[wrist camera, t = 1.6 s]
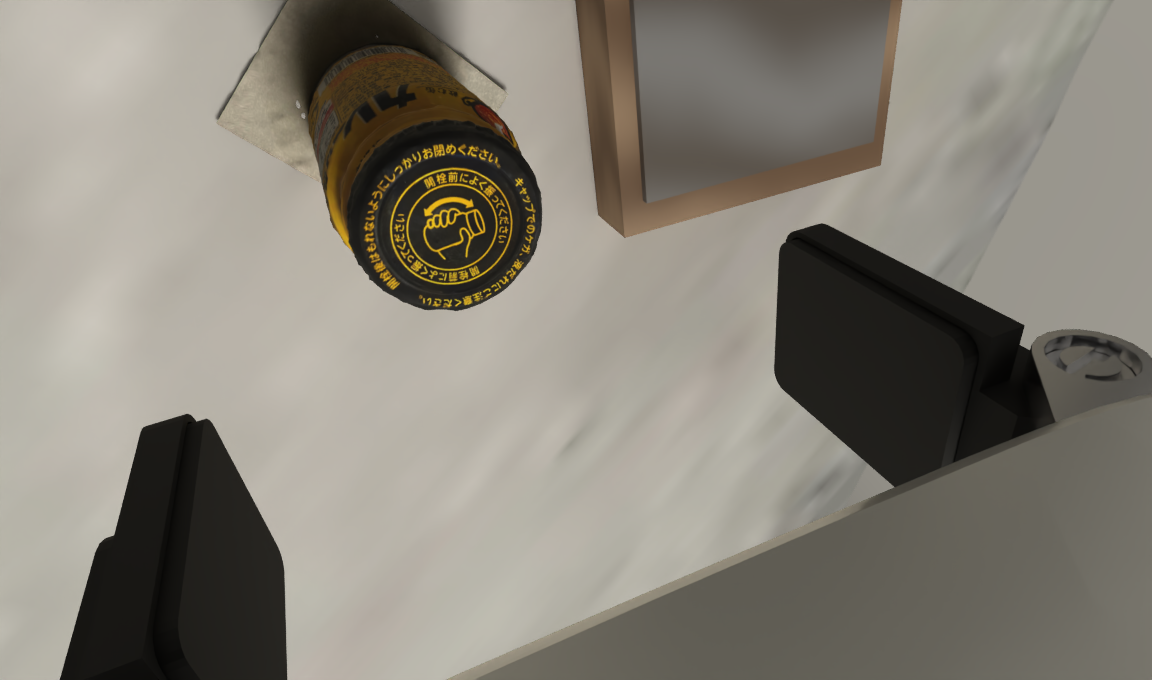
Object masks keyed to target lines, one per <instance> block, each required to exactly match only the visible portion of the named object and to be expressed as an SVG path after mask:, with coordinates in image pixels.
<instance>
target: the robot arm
mask: <svg viewBox="0 0 1152 680" xmlns="http://www.w3.org/2000/svg"><path fill="white" fill-rule="evenodd" d="M1023 329H1024V325H1023V324H1021V323H1019V322H1017V321H1015V320H1013V319H1011V318H1009V317H1007V316H1005V315H1003V314H1001V313H999V312H997V311H995V310H993V309H991V308H989V307H987V306H985V305H983V304H982V303H979V302H977V301H976V300H974V299H972V298H970V297H968V296H966V295H964V294H962V293H960V292H958V291H956V290H954V289H952V288H950V287H948V286H946V285H944V284H942V283H940V282H938V281H936V280H934V279H932V278H931V277H929V276H927V275H925V274H923V273H921V272H919V271H917V270H915V269H913V268H911V267H909V266H907V265H905V264H903V263H901V262H899V261H897V260H895V259H893V258H891V257H889V256H887V255H885V254H883V253H881V252H879V251H878V250H876V249H874V248H872V247H870V246H868V245H866V244H864V243H862V242H860V241H858V240H856V239H854V238H852V237H850V236H848V235H846V234H844V233H842V232H840V231H838V230H836V229H834V228H832V227H830V226H828V225H826V224H817V225H814V226H810V227H807V228H804V229H800V230H797V231H794V232H791V233H790V234H789V235H788V237H787V239H786V243H784V244H782V246H781V248H780V251H779V269H778V293H777V317H776V340H775V364H774V371H775V376H776V379H777V382H778V384H779V385H780V387H781V388H782V389H783V390H784V391H785V392H786V393H787V394H789V395H790V396H791V397H792V398H793V399H794V400H795V401H797V402H798V403H799V404H800V405H801V406H802V407H804V408H805V409H806V410H807V411H808V412H809V413H810V414H812V415H813V416H814V417H815V418H816V419H817V420H818V421H820V422H821V423H822V424H823V425H824V426H825V427H826V428H828V429H829V430H830V431H831V432H832V433H833V434H834V435H836V436H837V437H838V438H839V439H840V440H841V441H842V442H844V443H845V444H846V445H847V446H848V447H849V448H851V449H852V450H853V451H854V452H855V453H856V454H857V455H859V456H860V457H861V458H862V459H863V460H864V461H865V462H867V463H868V464H869V465H870V466H871V467H872V468H873V469H875V470H876V471H877V472H878V473H879V474H880V475H881V476H883V477H884V478H885V479H886V480H887V481H888V482H889V483H891V484H892V485H893V486H894V487H895V488H892V489H890V490H887V491H885V492H883V493H880V494H878V495H876V496H873V497H871V498H868V499H866V500H864V501H861V502H859V503H856V504H854V505H852V506H849V507H847V508H844V509H842V510H840V511H837V512H835V513H833V514H830V515H828V516H825V517H823V518H821V519H818V520H816V521H814V522H811V523H809V524H807V525H804V526H802V527H800V528H797V529H795V530H793V531H790V532H788V533H785V534H783V535H781V536H778V537H776V538H774V539H771V540H769V541H767V542H764V543H762V544H760V545H757V546H755V547H752V548H750V549H748V550H745V551H743V552H741V553H738V554H736V555H734V556H731V557H729V558H727V559H724V560H722V561H720V562H717V563H715V564H713V565H710V566H708V567H706V568H703V569H701V570H699V571H696V572H694V573H692V574H689V575H687V576H684V577H682V578H680V579H677V580H675V581H673V582H670V583H668V584H666V585H663V586H661V587H659V588H656V589H654V590H652V591H649V592H647V593H645V594H642V595H640V596H638V597H635V598H633V599H631V600H628V601H626V602H624V603H622V604H619V605H617V606H615V607H612V608H610V609H608V610H605V611H603V612H601V613H598V614H596V615H594V616H591V617H589V618H587V619H585V620H582V621H580V622H578V623H575V624H573V625H571V626H568V627H566V628H564V629H561V630H559V631H557V632H554V633H552V634H550V635H547V636H545V637H543V638H541V639H538V640H536V641H534V642H531V643H529V644H527V645H524V646H522V647H520V648H517V649H515V650H513V651H510V652H508V653H506V654H504V655H501V656H499V657H497V658H494V659H492V660H490V661H487V662H485V663H483V664H480V665H478V666H476V667H473V668H471V669H469V670H467V671H464V672H462V673H460V674H457V675H455V676H453V677H451V678H449V679H446V680H1152V358H1151V357H1150V356H1149V354H1148V353H1147V352H1145V351H1144V350H1142V349H1140V348H1139V347H1138V346H1136V345H1134V344H1133V343H1130V342H1128V341H1126V340H1123V339H1121V338H1118V337H1115V336H1112V335H1107V334H1104V333H1100V332H1095V331H1087V330H1080V329H1078V330H1077V329H1070V330H1057V331H1052V332H1047V333H1045V334H1043V335H1041V336H1039V337H1037V338H1036V340H1035V341H1034V342H1033V344H1032V345H1031V349H1030V350H1028V349H1026V348H1024V347H1022V346H1021V345H1019V344H1020V340H1021V337H1022V333H1023ZM60 680H287V654H286V618H285V582H284V566H283V561H282V557H281V554H280V551H279V549H278V546H277V544H276V542H275V541H274V539H273V537H272V535H271V533H270V531H269V529H268V527H267V525H266V524H265V522H264V520H263V518H262V516H261V514H260V512H259V510H258V508H257V507H256V505H255V503H254V501H253V499H252V497H251V495H250V493H249V491H248V490H247V488H246V486H245V484H244V482H243V480H242V478H241V476H240V474H239V473H238V471H237V469H236V467H235V465H234V463H233V461H232V459H231V457H230V456H229V454H228V452H227V450H226V448H225V446H224V444H223V442H222V440H221V439H220V437H219V435H218V433H217V431H216V429H215V427H214V426H213V424H212V422H211V421H210V420H208V419H204V420H201V421H197V422H196V420H195V419H194V418H193V417H192V416H191V415H189V414H185V415H182V416H178V417H175V418H172V419H168V420H165V421H162V422H158V423H155V424H152V425H148V426H145V427H143V429H142V431H141V433H140V437H139V441H138V445H137V449H136V453H135V457H134V460H133V464H132V468H131V472H130V476H129V480H128V484H127V488H126V492H125V496H124V500H123V504H122V507H121V511H120V515H119V519H118V523H117V527H116V531H115V535H114V536H111V537H108V538H106V539H104V540H103V541H102V542H101V543H100V544H99V546H98V548H97V550H96V552H95V556H94V559H93V563H92V566H91V570H90V574H89V577H88V581H87V584H86V588H85V591H84V595H83V599H82V602H81V606H80V609H79V613H78V617H77V620H76V624H75V627H74V631H73V634H72V638H71V642H70V645H69V649H68V652H67V656H66V659H65V663H64V667H63V670H62V674H61V677H60Z"/></svg>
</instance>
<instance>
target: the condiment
mask: <svg viewBox="0 0 1152 680" xmlns="http://www.w3.org/2000/svg"><path fill="white" fill-rule="evenodd" d="M376 35H377V36H378V38H377V37H376ZM507 95H508V93H506V92H505V91H504V90H503V89H501V88H500V87H499V86H497V85H496V84H495V83H494V82H492V81H491V80H490V79H489V78H487V77H486V76H485V75H483V74H482V73H481V72H480V71H478V70H477V69H476V68H474V67H473V66H472V65H471V64H469V63H468V62H467V61H465V60H464V59H463V58H462V57H460V56H459V55H458V54H456V53H455V52H454V51H453V50H451V49H450V48H449V47H448V46H446V45H445V44H444V43H442V42H441V41H440V40H439V39H437V38H436V37H435V36H433V35H432V34H431V33H430V32H428V31H427V30H426V29H424V28H423V27H422V26H421V25H420V24H418V23H417V22H416V21H414V20H413V19H412V18H410V17H409V16H408V15H407V14H405V13H404V12H403V11H401V10H400V9H399V8H398V7H396V6H395V5H394V4H392V3H391V2H390V1H389V0H288V1H287V3H286V5H285V6H284V8H283V9H282V11H281V12H280V14H279V16H278V18H277V20H276V21H275V23H274V25H273V26H272V28H271V30H270V32H269V33H268V35H267V37H266V38H265V40H264V42H263V44H262V45H261V47H260V49H259V51H258V52H257V53H256V55H255V57H254V59H253V61H252V63H251V64H250V66H249V68H248V70H247V71H246V73H245V75H244V76H243V78H242V80H241V82H240V83H239V85H238V87H237V88H236V90H235V92H234V94H233V96H232V97H231V99H230V101H229V102H228V104H227V106H226V107H225V109H224V111H223V113H222V114H221V116H220V118H219V120H218V121H217V124H218V125H220V126H222V127H223V128H225V129H227V130H229V131H231V132H232V133H234V134H235V135H237V136H239V137H241V138H242V139H244V140H246V141H248V142H250V143H252V144H253V145H255V146H257V147H259V148H260V149H262V150H263V151H265V152H267V153H268V154H270V155H272V156H274V157H276V158H278V159H280V160H282V161H283V162H285V163H287V164H288V165H290V166H291V167H293V168H295V169H296V170H298V171H301V172H302V173H304V174H306V175H307V176H309V177H311V178H313V179H315V180H317V181H318V182H320V183H322V185H323V190H324V193H325V197H326V203H327V207H328V210H329V213H330V221H331V222H332V225H333V228H334V229H335V230H336V231H337V232H338V233H339V235H340V236H341V238H342V240H343V242H344V243H345V244H346V245H347V246H348V247H349V248H350V249H351V250H352V252H353V253H354V254H355V258H356V259H357V262H358V264H359V265H360V266H362V268H363V270H364V271H365V273H366V274H368V275H369V280H372V281H373V282H374V283H375V284H376V285H377V286H379V287H380V288H381V289H382V290H383V291H385V292H387V293H388V294H390V295H392V296H394V297H396V298H398V299H399V300H401V301H402V302H405V303H408V304H410V305H413V306H415V307H418V308H421V309H424V310H435V309H447V310H454V311H458V310H463V309H468V308H470V307H473V306H476V305H478V304H481V303H483V302H485V301H487V300H488V299H490V298H492V297H494V296H496V295H497V294H499V293H501V292H502V291H503V290H505V289H506V288H507V287H508V286H509V285H510V284H511V283H512V282H513V281H514V280H515V278H516V277H517V276H518V275H519V274H520V272H521V271H522V270H523V269H524V268H525V267H526V265H527V264H528V263H529V261H530V260H531V258H532V256H533V255H534V252H535V250H536V247H537V241H538V238H539V236H540V232H541V226H542V204H541V192H540V190H539V187H538V185H537V181H536V177H535V175H534V173H533V171H532V169H531V168H530V166H529V164H528V163H527V162H526V160H525V159H524V158H523V156H522V155H521V151H520V149H519V147H518V144H517V142H516V140H515V138H514V135H513V133H512V131H510V130H509V128H508V126H507V125H506V124H505V122H504V121H503V120H502V119H501V118H500V117H499V116H498V115H497V113H496V112H497V111H498V109H499V108H500V106H501V105H502V103H503V102H504V100H505V99H506V97H507ZM297 100H298V101H299V103H300V105H301V108H300V109H298V108H297V106H296V101H297ZM301 113H305V116H306V118H305V119H303V118H302V117H301Z"/></svg>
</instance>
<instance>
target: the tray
mask: <svg viewBox="0 0 1152 680" xmlns="http://www.w3.org/2000/svg"><path fill="white" fill-rule="evenodd" d="M901 6H902V0H576V9H577V19H578V28H579V37H580V47H581V56H582V66H583V75H584V84H585V94H586V103H587V112H588V122H589V131H590V140H591V150H592V159H593V168H594V178H595V187H596V196H597V206H598V215H599V216H600V217H601V218H602V219H603V220H605V221H606V222H607V223H608V224H609V225H610V226H612V227H613V228H614V229H615V230H616V231H617V232H619V233H620V234H621V235H622V236H623V237H624V238H626V237H629V236H633V235H636V234H640V233H643V232H647V231H650V230H654V229H657V228H661V227H664V226H668V225H671V224H675V223H679V222H682V221H686V220H689V219H693V218H696V217H700V216H703V215H707V214H710V213H714V212H717V211H721V210H724V209H728V208H731V207H735V206H739V205H742V204H746V203H749V202H753V201H756V200H760V199H763V198H767V197H770V196H774V195H777V194H781V193H784V192H788V191H791V190H795V189H799V188H802V187H806V186H809V185H813V184H816V183H820V182H823V181H827V180H830V179H834V178H837V177H841V176H844V175H848V174H851V173H855V172H858V171H862V170H866V169H869V168H873V167H876V166H880V165H881V159H882V152H883V144H884V136H885V129H886V121H887V113H888V105H889V98H890V90H891V82H892V75H893V67H894V59H895V52H896V44H897V36H898V29H899V21H900V13H901Z"/></svg>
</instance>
